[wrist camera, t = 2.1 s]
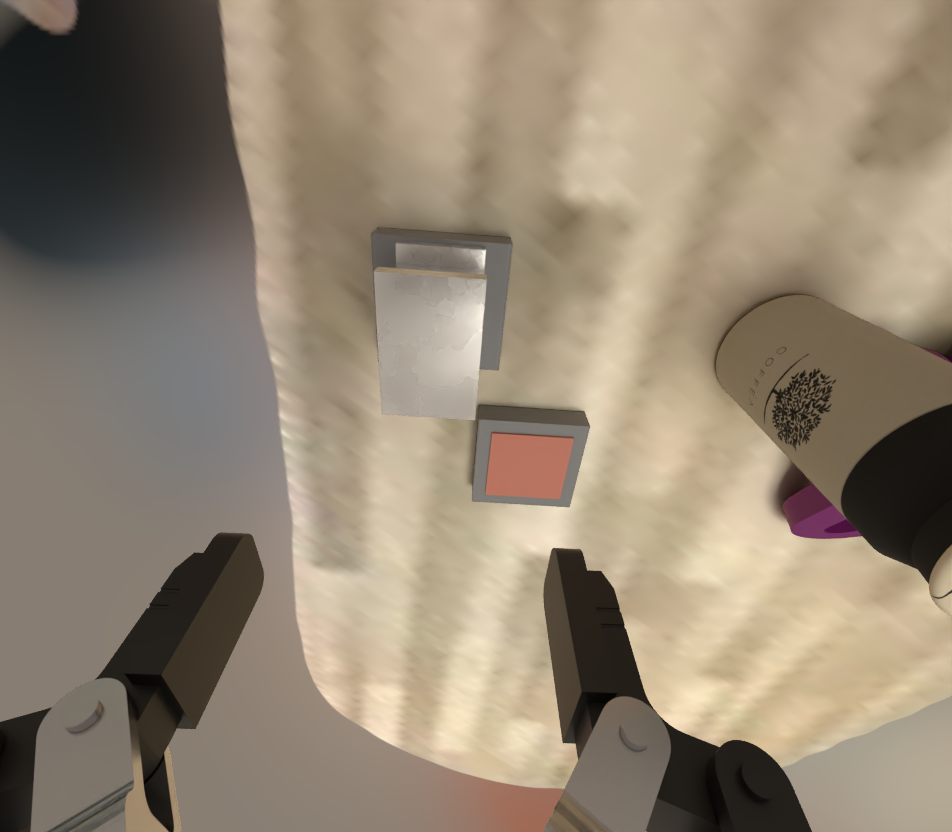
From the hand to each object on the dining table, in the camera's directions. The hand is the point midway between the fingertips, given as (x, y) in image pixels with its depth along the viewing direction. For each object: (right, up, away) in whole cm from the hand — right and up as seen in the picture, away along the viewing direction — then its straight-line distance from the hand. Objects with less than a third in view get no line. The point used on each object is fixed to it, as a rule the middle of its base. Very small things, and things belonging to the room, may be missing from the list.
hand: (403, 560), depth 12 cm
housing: (0, +11, +15) cm, 18 cm away
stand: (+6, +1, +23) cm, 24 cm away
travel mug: (+23, +9, +19) cm, 31 cm away
